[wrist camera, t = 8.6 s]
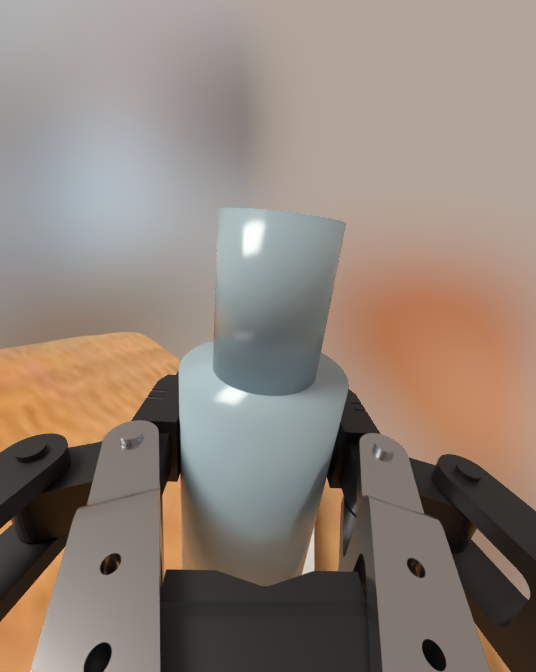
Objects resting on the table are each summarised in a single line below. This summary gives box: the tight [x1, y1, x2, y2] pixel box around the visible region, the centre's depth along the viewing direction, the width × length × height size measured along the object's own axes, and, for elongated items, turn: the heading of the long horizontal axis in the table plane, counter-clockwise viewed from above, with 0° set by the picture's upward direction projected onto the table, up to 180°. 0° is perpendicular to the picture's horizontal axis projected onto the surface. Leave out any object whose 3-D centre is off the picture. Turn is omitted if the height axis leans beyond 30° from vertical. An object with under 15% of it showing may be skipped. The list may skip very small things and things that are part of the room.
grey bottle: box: [179, 208, 349, 586], centre depth 9 cm, size 5×5×16 cm
